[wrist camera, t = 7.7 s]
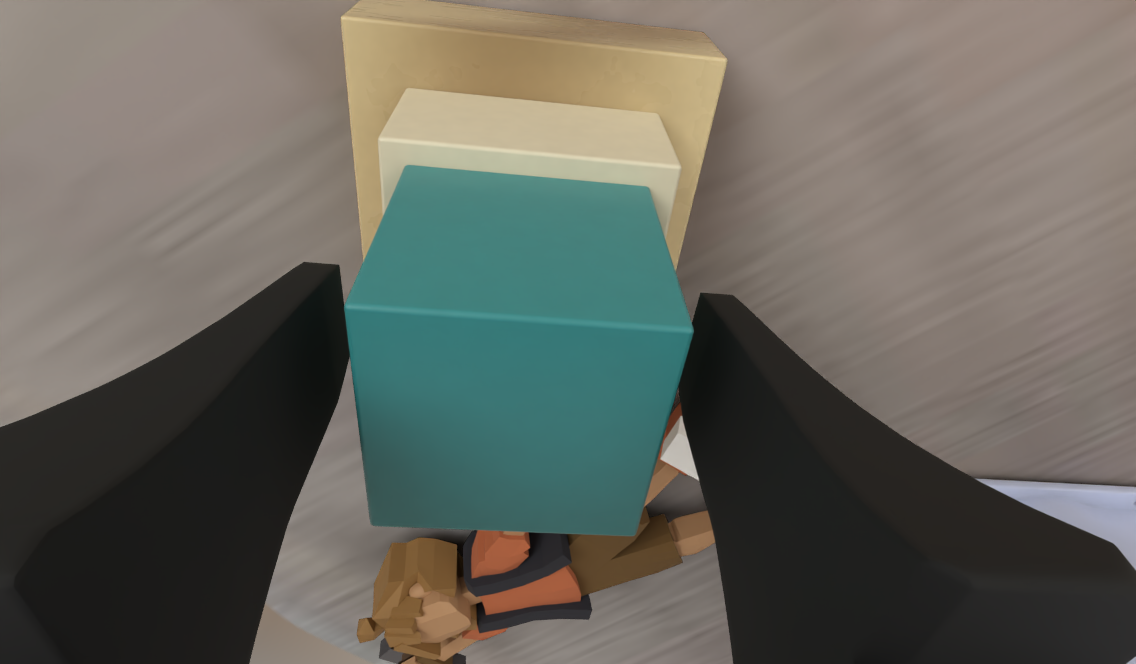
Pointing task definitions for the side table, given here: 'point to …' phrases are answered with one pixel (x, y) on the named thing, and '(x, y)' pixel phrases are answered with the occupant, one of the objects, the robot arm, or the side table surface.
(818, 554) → the robot arm
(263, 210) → the side table surface
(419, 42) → the birch slab
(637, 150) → the cream block
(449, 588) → the low-poly toy doll
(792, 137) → the side table surface
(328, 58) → the side table surface
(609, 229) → the toy cube
